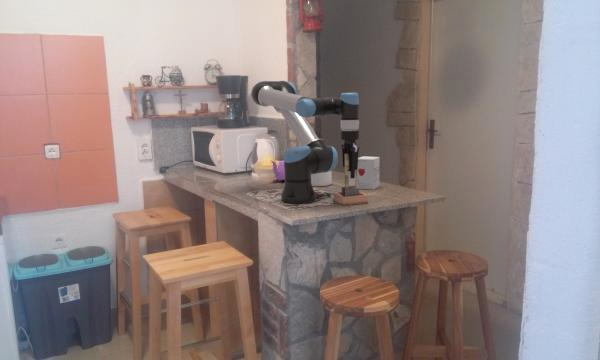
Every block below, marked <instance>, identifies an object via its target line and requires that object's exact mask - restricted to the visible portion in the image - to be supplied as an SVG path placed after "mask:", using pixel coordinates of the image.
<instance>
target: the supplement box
mask: <svg viewBox="0 0 600 360" xmlns="http://www.w3.org/2000/svg"><path fill="white" fill-rule="evenodd" d="M380 159H381V158H380V156H367V155H366V156H364V155H363V156H360V157H358V169H357V170H356V188H359V190H360V189H362V190H373V191H374V190H376V189H378V188H380V166H381V165H380V164H381V163H380V161H381V160H380Z"/></svg>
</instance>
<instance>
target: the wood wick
mask: <svg viewBox="0 0 600 360" xmlns="http://www.w3.org/2000/svg"><path fill="white" fill-rule="evenodd" d="M348 170H349V155H348V154H345V167H344V187H345V196H347V194H346V189H356V188H357V170H355V186H348Z"/></svg>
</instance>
